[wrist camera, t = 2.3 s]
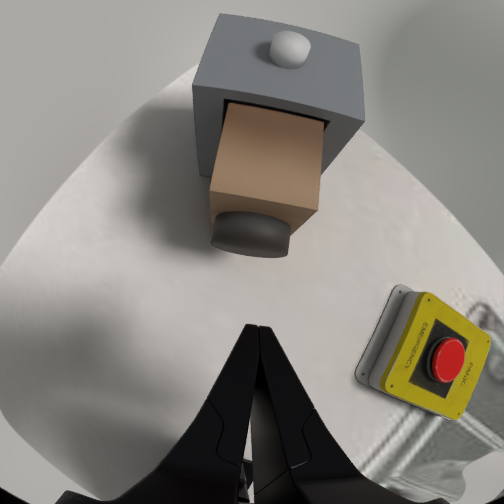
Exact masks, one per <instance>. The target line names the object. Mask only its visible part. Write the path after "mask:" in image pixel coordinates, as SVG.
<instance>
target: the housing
mask: <svg viewBox="0 0 504 504" xmlns="http://www.w3.org/2000/svg"><path fill="white" fill-rule="evenodd" d="M192 92H193V107H194V120H195V132H196V144H197V155H198V166H199V175H201V176H208V177H212V175H213V171H214V166H215V161H216V157H217V152H218V148H219V143H220V139H221V135H222V130H223V126H224V122H225V118H226V113H227V109H228V105H229V103H235V104H241V105H247V106H252V107H258V108H263V109H268V110H273V111H278V112H283V113H287V114H292V115H296V116H300V117H305V118H309V119H313V120H317V121H321V122H324V129H323V147H322V164H321V175H322V173H323V172H324V171H325V170H326V169H327V167H328V166H329V165H330V164H331V162H332V161H333V160H334V159H335V158H336V156H337V155H338V154H339V153H340V151H341V150H342V149H343V148H344V147H345V145H346V144H347V143H348V142H349V140H350V139H351V138H352V137H353V135H354V134H355V133H356V132H357V131H358V129H359V128H360V127H361V126H362V124H363V123H364V122H365V110H364V93H363V79H362V68H361V57H360V48H359V44H356V43H353V42H350V41H347V40H343V39H341V38H338V37H334V36H331V35H327V34H324V33H320V32H317V31H313V30H309V29H305V28H301V27H297V26H293V25H288V24H283V23H279V22H273V21H268V20H263V19H257V18H251V17H244V16H237V15H228V14H219V16H218V18H217V21H216V23H215V26H214V28H213V30H212V33H211V35H210V38H209V40H208V43H207V45H206V48H205V51H204V54H203V56H202V59H201V61H200V64H199V66H198V69H197V72H196V75H195V78H194V80H193V83H192Z"/></svg>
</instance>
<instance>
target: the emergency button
mask: <svg viewBox="0 0 504 504" xmlns="http://www.w3.org/2000/svg"><path fill="white" fill-rule="evenodd" d="M490 345H491V338H490V336H489V335H488V334H487V333H486V332H484V331H483V330H482V329H480V328H479V327H478V326H476V325H475V324H474V323H472V322H471V321H470V320H468V319H467V318H466V317H464V316H463V315H462V314H460V313H459V312H457V311H456V310H455V309H453V308H452V307H451V306H449V305H448V304H446V303H445V302H444V301H442V300H441V299H439V298H438V297H437V296H435V295H434V294H432V293H429V292H414V291H413V290H411V289H410V288H408V287H407V286H404V285H397V286H395V288H394V289H393V290H392V293H391V295H390V297H389V300H388V302H387V304H386V307H385V309H384V311H383V314H382V316H381V318H380V320H379V323H378V325H377V327H376V329H375V331H374V333H373V336H372V338H371V340H370V342H369V344H368V346H367V348H366V350H365V352H364V354H363V356H362V358H361V360H360V362H359V364H358V366H357V368H356V372H355V375H356V379H357V380H358V381H359V382H361V383H362V384H365V385H367V386H369V387H371V388H373V389H376V390H378V391H380V392H382V393H385V394H387V395H389V396H392V397H394V398H396V399H399V400H401V401H403V402H406V403H408V404H410V405H413V406H415V407H418V408H420V409H423V410H425V411H428V412H430V413H433V414H435V415H438V416H440V417H443V418H445V419H448V420H452V419H453V420H457V419H459V418H460V417H461V415H462V414H463V412H464V410H465V408H466V406H467V404H468V401H469V399H470V397H471V395H472V392H473V390H474V388H475V385H476V383H477V381H478V378H479V376H480V373H481V371H482V368H483V365H484V363H485V360H486V357H487V354H488V352H489V349H490Z"/></svg>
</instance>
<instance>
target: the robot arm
mask: <svg viewBox="0 0 504 504" xmlns="http://www.w3.org/2000/svg"><path fill="white" fill-rule="evenodd" d="M249 421H250V423H251V444H252V461H248V460H245V459H243V457H244V451H245V445H246V439H247V433H248V427H249ZM251 467H253V469H250V468H251ZM252 482H253V485H254V495H255V496H254V503H249V502H250V500H249V495H248V491H247V490H248V489H249V487H250V485H251V484H252ZM0 504H29V503H28V502H26V501H24V500H22V499H20V498H18V497H16V496H14V495H13V494H11V493H9V492H7V491H6V490H4V489H2V488H1V487H0ZM55 504H450V503H448V502H447V501H446V500H444V499H443V498H438V499H434V500H431V501H428V502H424V503H418V502H413V501H411V500H408V499H406V498H404V497H402V496H400V495H398V494H396V493H394V492H392V491H390V490H388V489H386V488H384V487H382V486H380V485H378V484H376V483H375V482H373V481H371V480H369V479H368V478H366V477H365V476H364V475H363V474H361V473H360V472H359V471H358V470H357V468H356V467H355V466H354V465H353V463H352V462H351V461H350V459H349V458H348V457H347V455H346V454H345V453H344V451H343V450H342V449H341V447H340V446H339V445H338V443H337V442H336V441H335V439H334V438H333V436H332V435H331V434H330V432H329V431H328V429H327V428H326V426H325V424H324V423H323V421H322V419H321V418H320V416H319V414H318V412H317V410H316V409H314V405H313V403H312V402H311V400H310V398H309V396H308V394H307V393H306V391H305V389H304V387H303V385H302V383H301V382H300V380H299V378H298V376H297V374H296V373H295V371H294V369H293V367H292V365H291V363H290V362H289V360H288V358H287V356H286V354H285V352H284V351H283V349H282V347H281V345H280V343H279V341H278V339H277V338H276V336H275V334H274V332H273V330H272V328H271V327H268V326H257V325H253V324H246V325H245V326H244V328H243V330H242V332H241V334H240V336H239V338H238V340H237V342H236V344H235V346H234V347H233V349H232V351H231V353H230V355H229V357H228V359H227V361H226V363H225V365H224V366H223V368H222V370H221V372H220V374H219V376H218V378H217V380H216V381H215V383H214V385H213V387H212V389H211V391H210V393H209V395H208V396H207V399H206V400H205V402H204V404H203V405H202V407H201V409H200V411H199V412H198V414H197V416H196V417H195V419H194V421H193V422H192V423H191V425H190V426H189V427H188V429H187V430H186V432H185V433H184V434H183V435H182V437H181V438H180V439H179V441H178V442H177V443H176V444H175V446H174V447H173V448H172V449H171V451H170V452H169V453H168V454H167V455H166V457H165V458H164V459H163V460H162V461H161V462H160V464H159V465H158V466H157V467H156V468H155V469H154V470H153V471H152V472H150V473H149V474H148V475H147V476H146V477H144V478H143V479H142V480H141V481H139V482H138V483H137V484H135V485H134V486H133V487H132V488H130V489H129V490H128V491H126V492H125V493H124V494H122V495H121V496H120V497H118V498H116V499H115V500H111V501H100V500H96V499H93V498H90V497H87V496H84V495H82V494H79V493H75V492H72V491H69V490H67V491H65V492H64V493H63V495H62V496H61V497H60V498H59V499H58V501H57V502H56V503H55ZM486 504H504V495H502V496H500V497H498V498H496V499H494V500H492V501H490V502H488V503H486Z"/></svg>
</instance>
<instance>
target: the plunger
mask: <svg viewBox="0 0 504 504" xmlns="http://www.w3.org/2000/svg"><path fill="white" fill-rule="evenodd" d="M323 129H324V122H321V121H317V120H313V119H309V118H305V117H300V116H296V115H292V114H287V113H283V112H278V111H273V110H268V109H263V108H258V107H252V106H247V105H241V104H235V103H229V105H228V109H227V113H226V118H225V122H224V126H223V130H222V135H221V139H220V143H219V148H218V152H217V157H216V161H215V166H214V171H213V175H212V180H211V185H210V190H209V196H210V222H211V238H212V239H211V244H212V245H213V246H214V247H216V248H218V249H221V250H224V251H227V252H231V253H235V254H240V255H246V256H253V257H262V258H280V257H285V256H287V255H288V248H289V240H290V236H291V235H292V234H293V233H294V232H295V231H296V230H297V229H298V228H299V227H300V226H301V225H303V224H304V223H305V222H306V221H307V220H308V219H309V218H310V217H311V216H312V215H313V214H314V213H316V212H317V211H318V203H319V191H320V178H321V164H322V147H323Z"/></svg>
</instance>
